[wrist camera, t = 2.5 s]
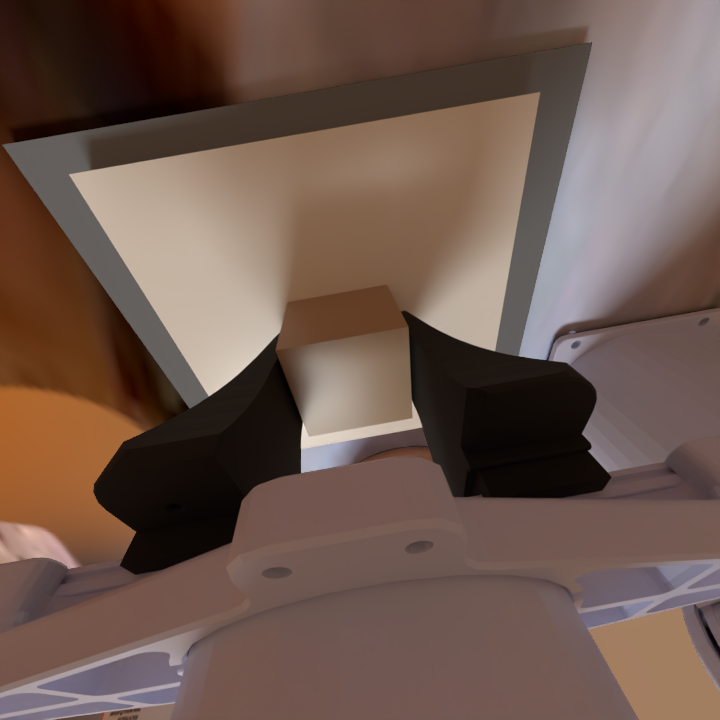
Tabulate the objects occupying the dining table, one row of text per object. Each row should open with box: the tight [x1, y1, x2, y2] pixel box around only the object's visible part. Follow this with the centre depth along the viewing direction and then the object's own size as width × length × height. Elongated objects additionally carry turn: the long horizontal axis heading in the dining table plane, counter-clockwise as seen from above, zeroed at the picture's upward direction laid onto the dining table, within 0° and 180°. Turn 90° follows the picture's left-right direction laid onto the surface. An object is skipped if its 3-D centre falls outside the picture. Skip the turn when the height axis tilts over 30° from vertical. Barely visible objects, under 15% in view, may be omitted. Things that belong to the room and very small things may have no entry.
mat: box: [3, 42, 592, 408], centre depth 13 cm, size 18×16×1 cm
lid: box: [69, 92, 540, 449], centre depth 11 cm, size 14×14×4 cm
